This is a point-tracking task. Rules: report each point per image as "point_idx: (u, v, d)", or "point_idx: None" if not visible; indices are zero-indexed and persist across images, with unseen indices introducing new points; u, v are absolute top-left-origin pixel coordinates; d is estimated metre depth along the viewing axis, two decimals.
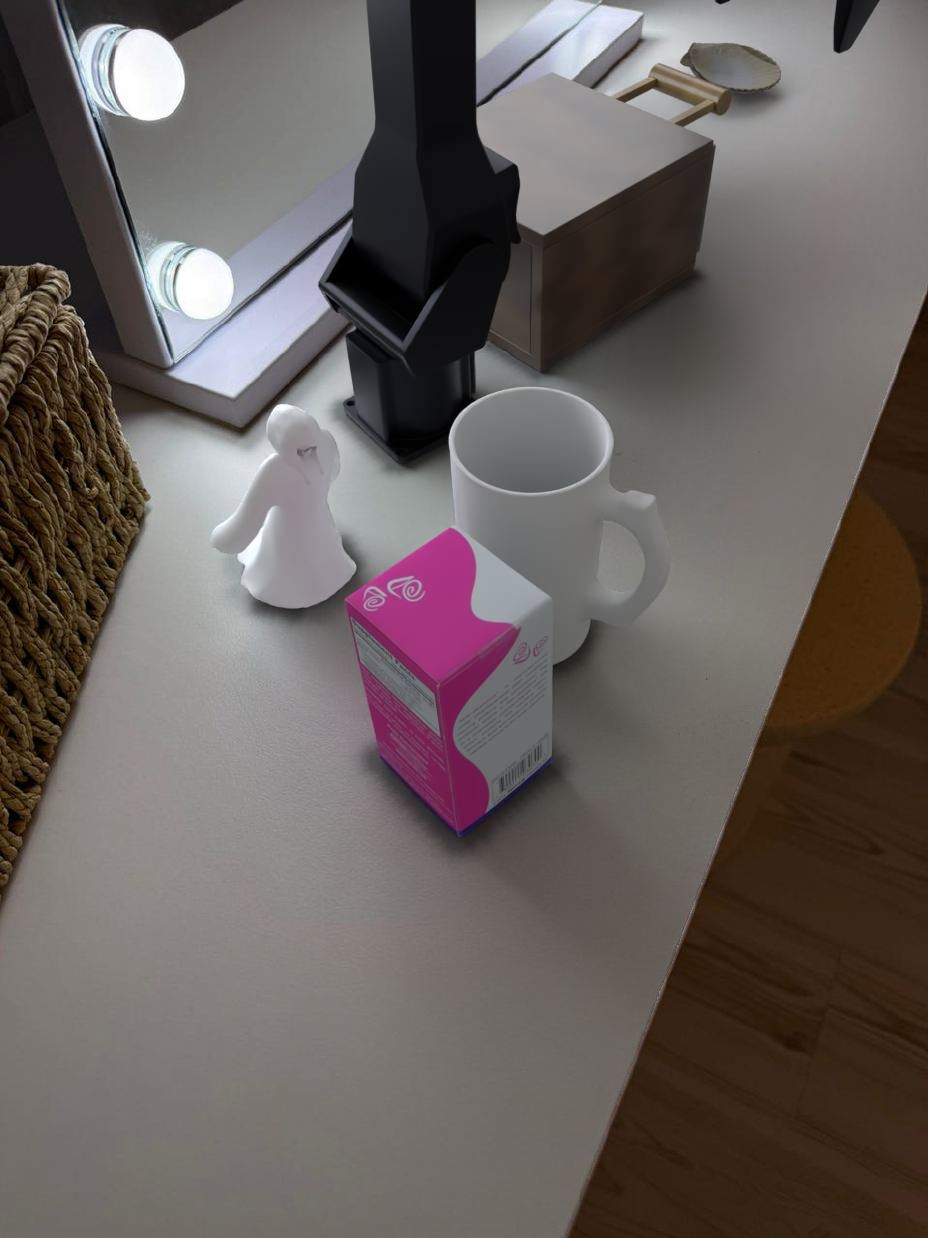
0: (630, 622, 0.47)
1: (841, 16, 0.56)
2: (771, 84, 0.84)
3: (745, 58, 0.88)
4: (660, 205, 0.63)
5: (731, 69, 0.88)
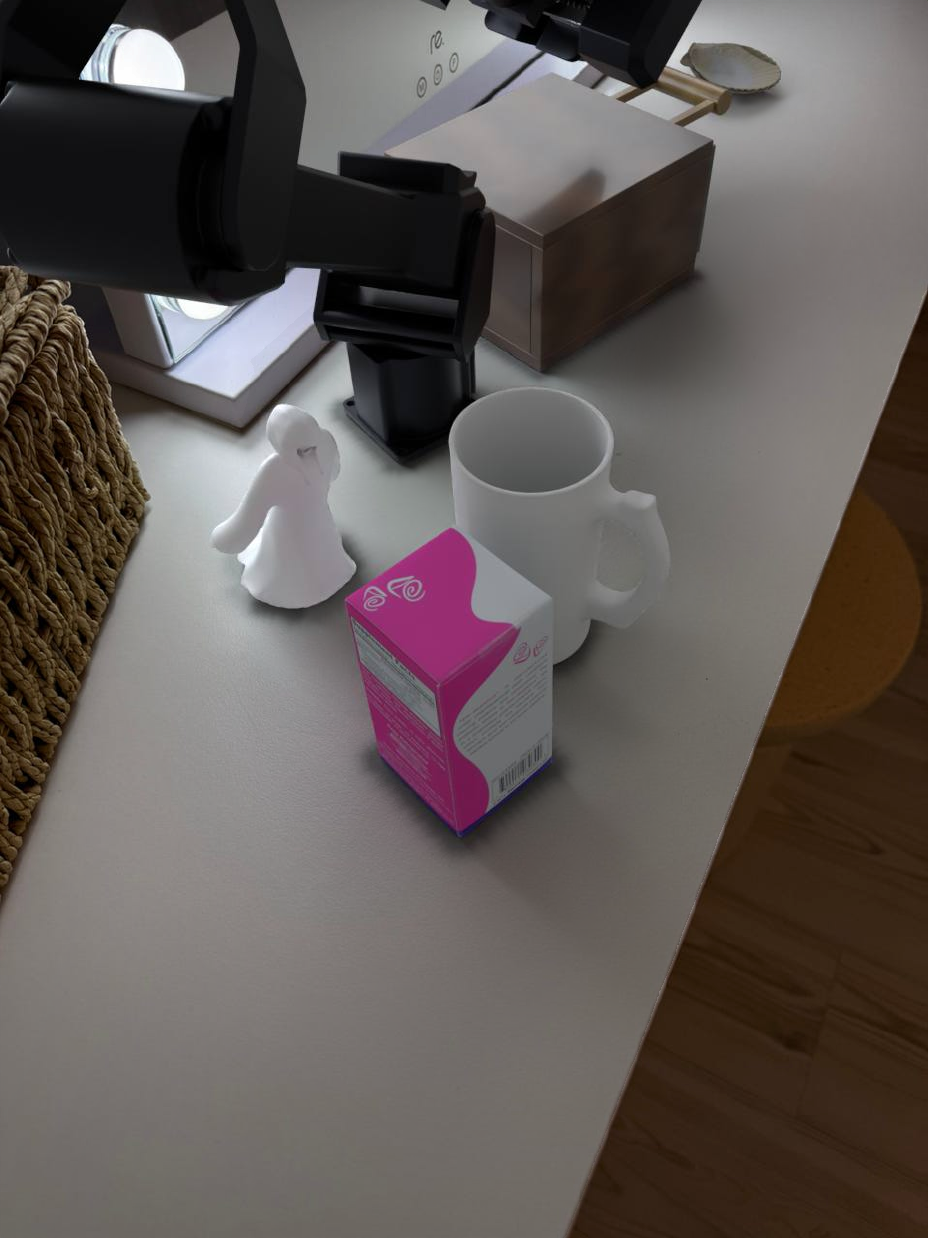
0: (630, 622, 0.47)
1: None
2: (771, 84, 0.84)
3: (745, 58, 0.88)
4: (660, 205, 0.63)
5: (731, 69, 0.88)
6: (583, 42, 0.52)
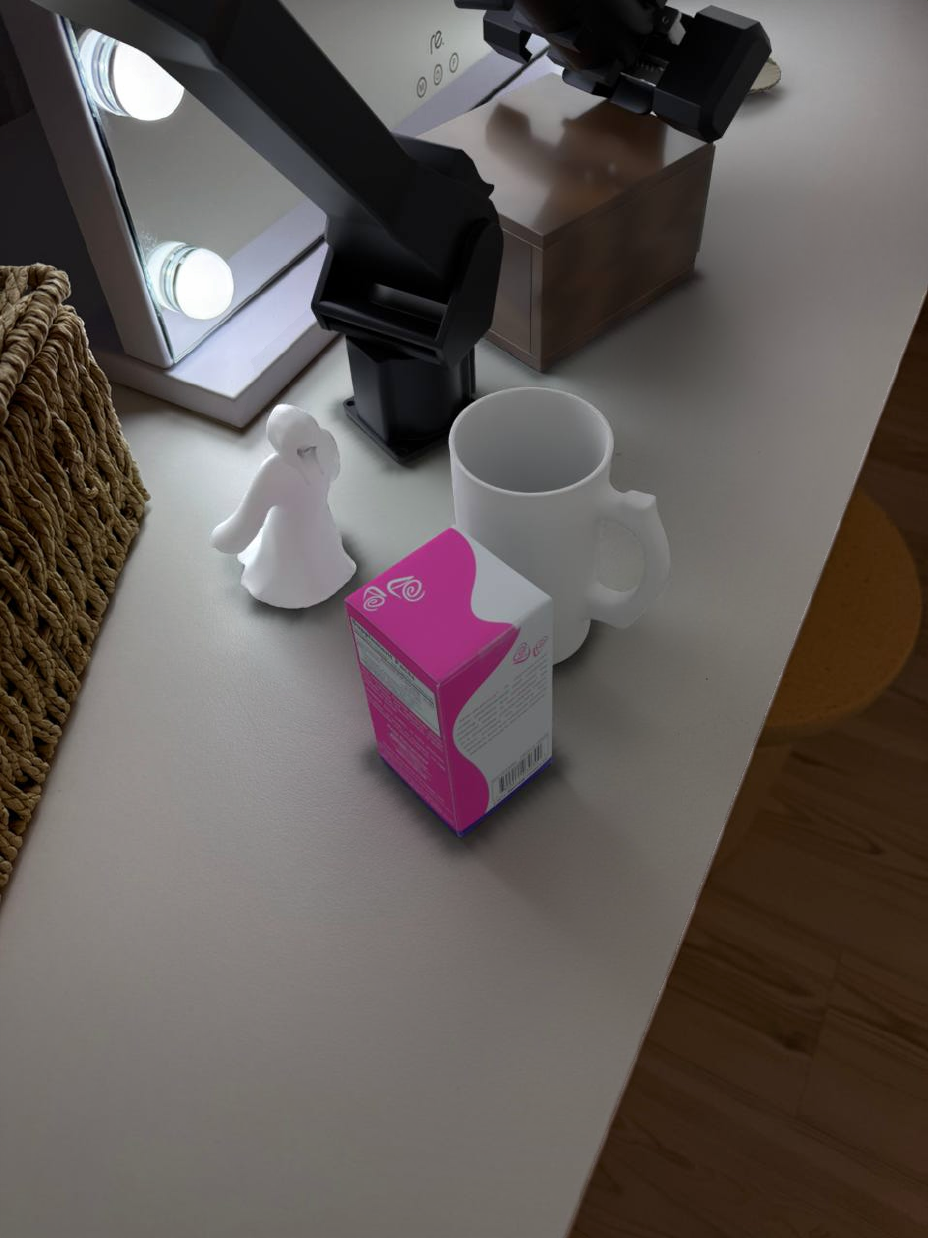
0: (630, 622, 0.47)
1: None
2: (771, 84, 0.84)
3: None
4: (660, 205, 0.63)
5: None
6: (657, 102, 0.59)
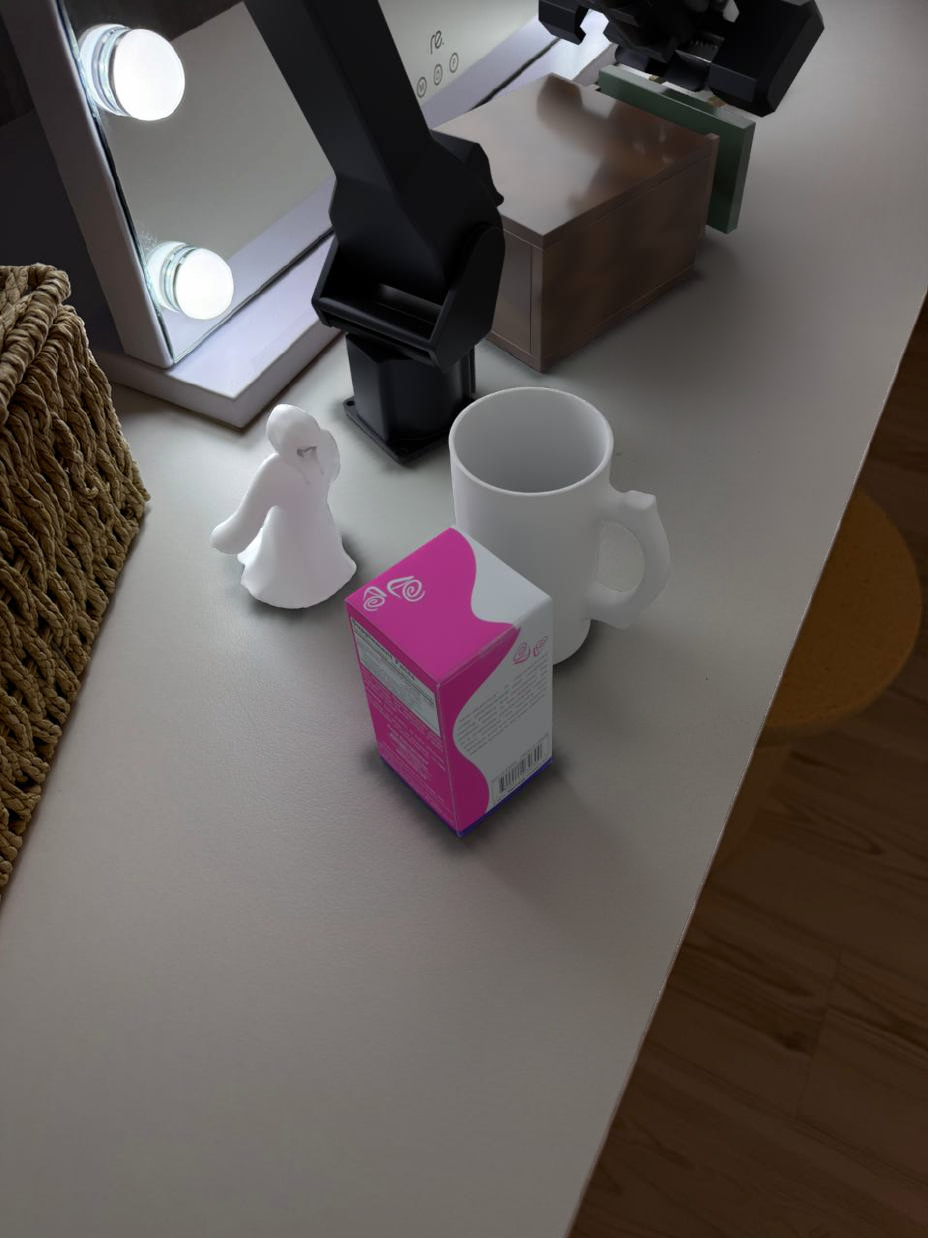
0: (630, 622, 0.47)
1: None
2: None
3: None
4: (660, 205, 0.63)
5: None
6: (712, 77, 0.61)
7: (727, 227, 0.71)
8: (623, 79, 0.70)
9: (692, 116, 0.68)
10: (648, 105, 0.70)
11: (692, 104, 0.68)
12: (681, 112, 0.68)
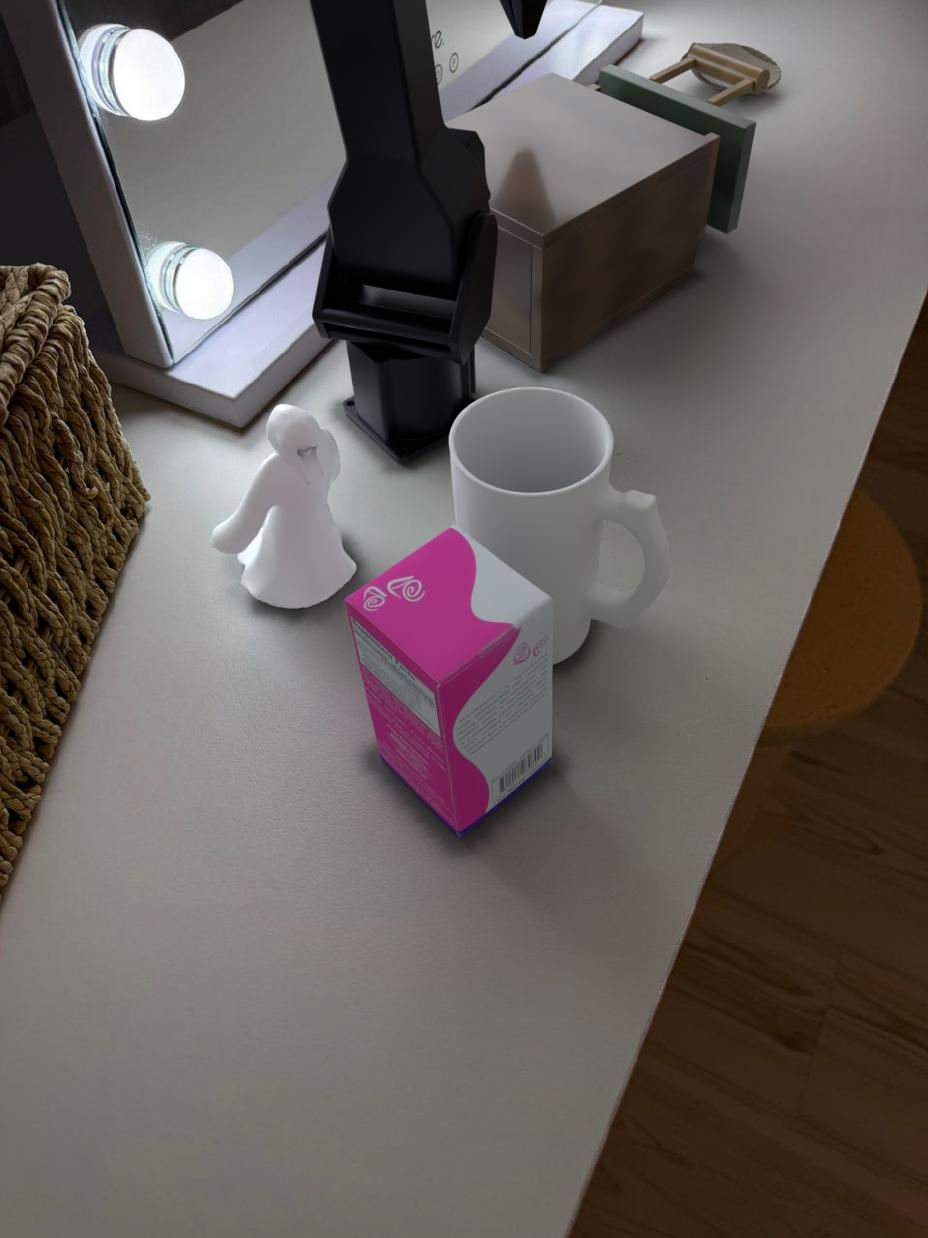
0: (630, 622, 0.47)
1: (517, 6, 0.62)
2: (771, 84, 0.84)
3: (745, 58, 0.88)
4: (660, 205, 0.63)
5: None
6: None
7: (727, 227, 0.71)
8: (623, 79, 0.70)
9: (692, 116, 0.68)
10: (649, 105, 0.70)
11: (692, 104, 0.68)
12: (681, 112, 0.68)
